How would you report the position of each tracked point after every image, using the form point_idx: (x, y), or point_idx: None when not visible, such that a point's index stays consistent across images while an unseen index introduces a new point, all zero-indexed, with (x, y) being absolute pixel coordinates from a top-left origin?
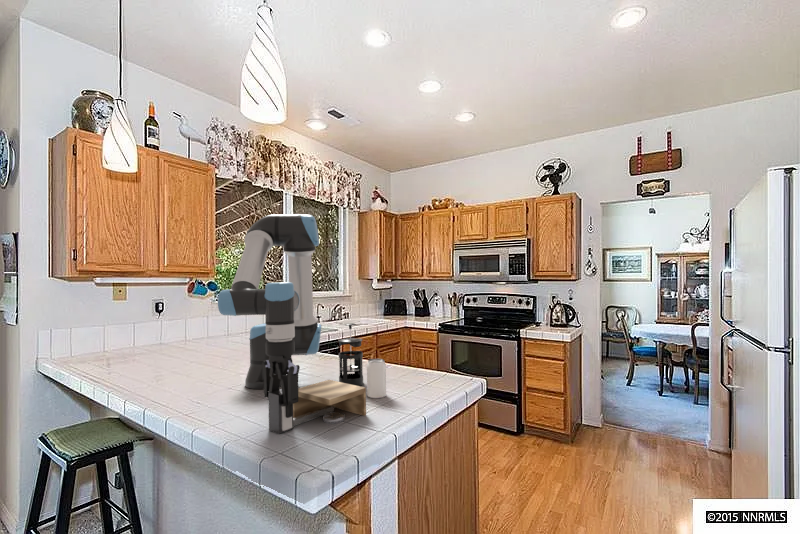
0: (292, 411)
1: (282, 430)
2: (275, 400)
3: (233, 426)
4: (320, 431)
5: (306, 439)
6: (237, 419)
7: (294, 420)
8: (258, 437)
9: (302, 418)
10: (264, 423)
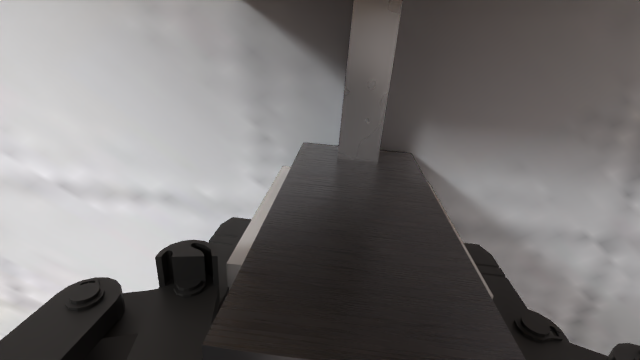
0: (502, 275)
1: None
2: None
3: (102, 274)
4: (627, 89)
5: (598, 223)
6: (9, 207)
7: (383, 120)
8: None
9: (395, 38)
10: (180, 176)
